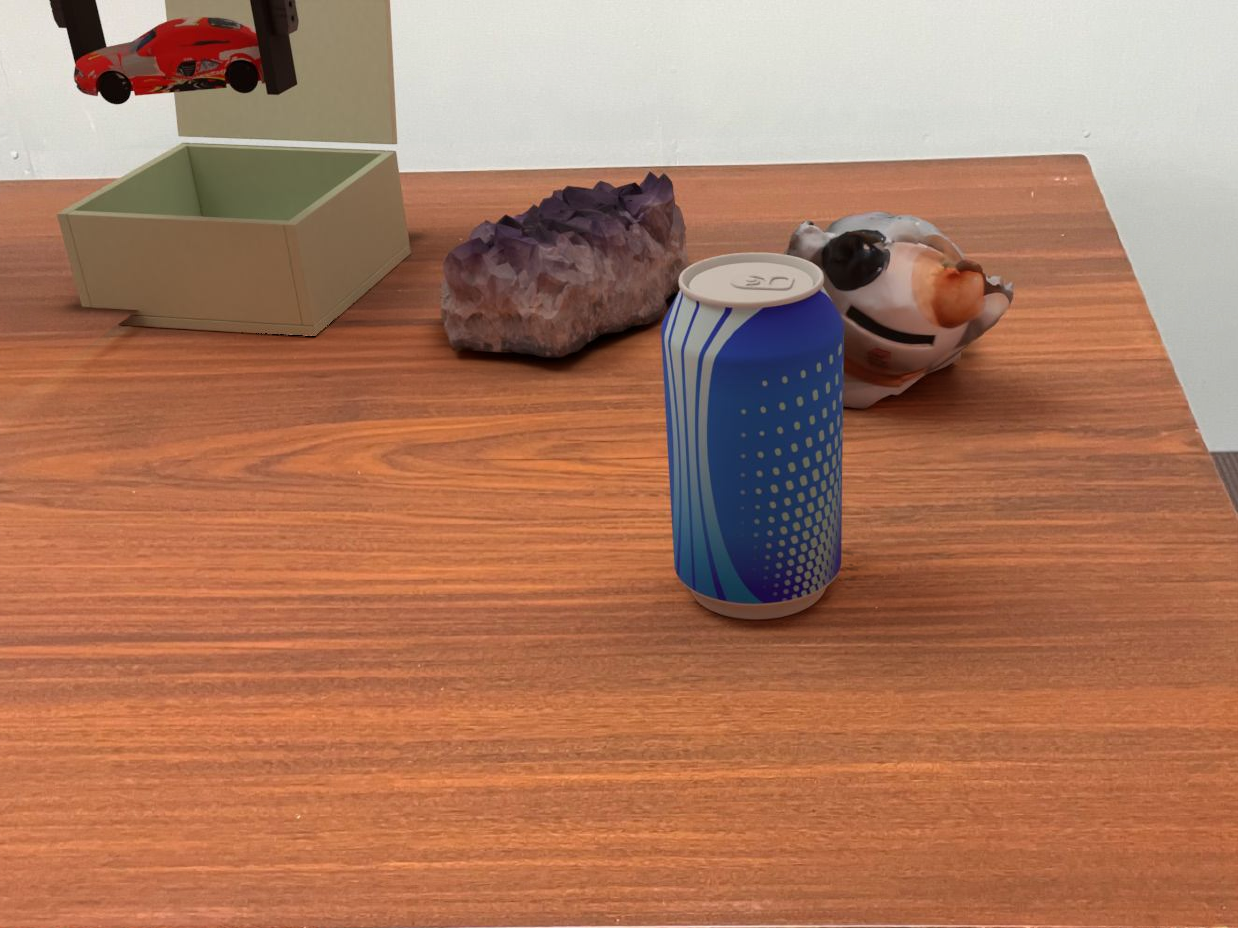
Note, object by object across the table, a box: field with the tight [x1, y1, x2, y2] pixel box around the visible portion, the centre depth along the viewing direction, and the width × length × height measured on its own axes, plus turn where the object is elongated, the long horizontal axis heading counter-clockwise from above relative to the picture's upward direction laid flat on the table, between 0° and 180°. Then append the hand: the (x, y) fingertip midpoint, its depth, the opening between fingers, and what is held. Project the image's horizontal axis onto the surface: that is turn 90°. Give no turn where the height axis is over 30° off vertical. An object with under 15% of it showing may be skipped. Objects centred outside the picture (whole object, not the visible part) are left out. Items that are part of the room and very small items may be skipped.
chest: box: [56, 142, 412, 337], centre depth 117 cm, size 18×18×8 cm
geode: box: [439, 171, 691, 359], centre depth 110 cm, size 20×12×10 cm, turn 144°
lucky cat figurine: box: [783, 211, 1015, 410], centre depth 99 cm, size 15×12×14 cm
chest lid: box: [164, 0, 398, 145], centre depth 118 cm, size 18×18×1 cm
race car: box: [73, 17, 265, 105], centre depth 102 cm, size 13×5×4 cm, turn 105°
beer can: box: [660, 251, 844, 620], centre depth 77 cm, size 8×8×16 cm
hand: (189, 86), depth 103 cm, fingers closed on race car, 12 cm apart
